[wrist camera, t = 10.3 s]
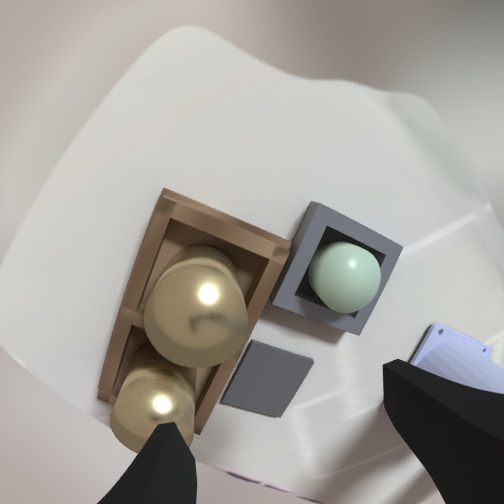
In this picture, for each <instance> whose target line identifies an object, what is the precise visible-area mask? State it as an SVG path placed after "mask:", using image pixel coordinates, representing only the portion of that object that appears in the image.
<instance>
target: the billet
mask: <svg viewBox="0 0 504 504" xmlns="http://www.w3.org/2000/svg"><path fill="white" fill-rule="evenodd" d="M196 376H197V368H190V367H185V366H181V365H178V364H176V363H173V362H171V361H170V360H168V359H166V358H165V357H164V356H162V355H161V354H160V353H159V352H158V351H157V350H156V349H155V348H154V346H153V345H152V343H151V342H150V341H149V342H147V343H145V344H144V345H142V346H141V347H140V348H139V349H138V351H137V352H136V354H135V357H134V359H133V361H132V364H131V366H130V368H129V371H128V373H127V376H126V378H125V380H124V383H123V385H122V388H121V390H120V393H119V395H118V398H117V400H116V403H115V405H114V408H113V410H112V413H111V416H110V425H111V429H112V431H113V433H114V435H115V436H116V438H117V439H118V440H119V441H120V442H121V443H122V444H123V445H125V446H126V447H127V448H129V449H130V450H132V451H134V452H136V453H139V452H140V450H141V449H142V447H143V446H144V444H145V443H146V441H147V440H148V438H149V437H150V435H151V434H152V432H153V431H154V429H155V428H156V426H157V425H158V424H163V423H170V422H175V424H176V425H177V427H178V429H179V431H180V433H181V435H182V437H183V439H184V440H185V442H186V444H187V446H188V447H189V446H190V445H191V443H192V440H193V434H194V411H195V393H196Z"/></svg>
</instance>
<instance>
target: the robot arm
mask: <svg viewBox="0 0 504 504" xmlns="http://www.w3.org/2000/svg"><path fill="white" fill-rule="evenodd" d="M439 330H440V332H439ZM438 332H439V333H438ZM491 353H492V347H490V346H488V345H486V344H484V343H482V342H479V341H477V340H475V339H472V338H470V337H468V336H466V335H463V334H461V333H459V332H457V331H454V330H452V329H450V328H448V327H445V326H443V325H441V324H439V323H434V324H433V325H432V326H431V327H430V329H429V331H428V332H427V334H426V336H425V338H424V340H423V342H422V343H421V345H420V347H419V349H418V350H417V352H416V354H415V355H414V357H413V359H412V361H411V362H410V363H407V362H405V361H402V360H400V359H396V360H394V361H391V362H389V363H386V364H384V365H383V390H384V404H383V407H382V408H383V409H384V411H386V412H387V414H388V416H389V418H390V420H391V422H392V423H393V425H394V427H395V429H396V430H397V431H398V433H399V434H400V435H401V437H402V438H403V439H404V441H405V442H406V443H407V445H408V446H409V447H410V449H411V450H412V451H413V453H414V454H415V455H416V457H417V458H418V459H419V461H420V462H421V463H422V464H423V466H424V467H425V468H426V470H427V471H428V473H429V474H430V476H431V477H432V479H433V481H434V483H435V485H436V486H437V488H438V490H439V492H440V494H441V496H442V497H443V499H444V501H445V503H446V504H504V369H503V368H502V367H500V366H499V365H498V364H496V363H495V362H493V361H492V360H491V359H489V357H490V355H491ZM196 494H197V475H196V464H195V458H194V457H193V455H192V453H191V451H190V450H189V448H188V446H187V444H186V442H185V440H184V439H183V437H182V435H181V433H180V431H179V429H178V427H177V425H176V424H175V422H170V423H163V424H158V425H157V426H156V428H155V429H154V431H153V432H152V434H151V435H150V437H149V438H148V440H147V441H146V443H145V444H144V446H143V447H142V449H141V450H140V452H139V453H138V455H137V456H136V458H135V459H134V460H133V462H132V463H131V465H130V466H129V467H128V469H127V470H126V471H125V473H124V474H123V475H122V476H121V478H120V479H119V480H118V482H117V483H116V484H115V485H114V486H113V487H112V489H111V490H110V491H109V492H108V493H107V494H106V495H105V496H104V497H103V498H102V499H101V500H100V501H99V502H98V503H97V504H196V496H197V495H196Z"/></svg>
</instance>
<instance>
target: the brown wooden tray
mask: <svg viewBox="0 0 504 504" xmlns="http://www.w3.org/2000/svg"><path fill="white" fill-rule="evenodd" d="M200 243H202V244H210V245H213V246H216V247H218V248H220V249H221V250H223V251H224V252H225V253H226V254H227V255H228V256H229V257H230V258H231V260H232V261H233V263H234V265H235V267H236V270H237V274H238V278H239V282H240V286H241V290H242V294H243V298H244V302H245V306H246V310H247V314H248V331H247V335H246V337H245V340H244V342H243V344H242V346H241V347H240V348H239V350H238V351H237V352H236V353H235V354H234V355H233V356H232V357H230V358H229V359H228V360H226V361H224V362H223V363H220V364H218V365H215V366H211V367H206V368H197V376H196V393H195V411H194V433H195V434H198V435H200V433H201V431H202V429H203V427H204V426H205V424H206V422H207V420H208V418H209V416H210V414H211V412H212V410H213V408H214V406H215V404H216V403H217V401H218V399H219V397H220V395H221V393H222V391H223V389H224V387H225V385H226V383H227V381H228V379H229V377H230V375H231V373H232V371H233V369H234V367H235V365H236V363H237V361H238V359H239V357H240V355H241V353H242V351H243V349H244V347H245V345H246V343H247V341H248V339H249V337H250V335H251V333H252V331H253V329H254V327H255V325H256V323H257V321H258V319H259V317H260V315H261V312H262V310H263V308H264V306H265V304H266V302H267V300H268V298H269V296H270V294H271V292H272V290H273V287H274V285H275V283H276V281H277V279H278V277H279V275H280V273H281V271H282V268H283V266H284V264H285V262H286V260H287V258H288V256H289V253H290V250H289V249H290V246H291V244H292V243H291V242H290V241H288V240H285V239H283V238H281V237H279V236H276V235H274V234H272V233H269V232H267V231H265V230H263V229H260V228H258V227H256V226H253V225H251V224H249V223H247V222H244V221H242V220H240V219H237V218H235V217H233V216H230V215H228V214H226V213H223V212H221V211H219V210H216V209H214V208H211V207H209V206H207V205H204V204H202V203H200V202H197V201H195V200H193V199H190V198H188V197H185V196H183V195H181V194H178V193H176V192H173V191H171V190H169V189H166V188H163V190H162V193H161V195H160V198H159V200H158V203H157V205H156V207H155V210H154V213H153V215H152V218H151V220H150V223H149V225H148V228H147V231H146V233H145V236H144V239H143V241H142V244H141V247H140V250H139V252H138V255H137V258H136V261H135V264H134V267H133V269H132V272H131V275H130V278H129V281H128V284H127V287H126V290H125V294H124V297H123V300H122V303H121V306H120V309H119V313H118V316H117V319H116V323H115V326H114V329H113V333H112V336H111V340H110V343H109V347H108V351H107V354H106V358H105V362H104V366H103V370H102V374H101V378H100V382H99V386H98V388H99V392H98V397H97V398H98V399H100V400H103V401H105V402H107V403H110V404H112V405H115V403H116V400H117V398H118V395H119V393H120V390H121V388H122V385H123V383H124V380H125V378H126V376H127V373H128V371H129V368H130V366H131V364H132V361H133V359H134V357H135V354H136V352H137V351H138V349H139V348H140V347H141V346H142V345H144V344H145V343H147V342H149V341H150V340H149V338H148V336H147V333H146V330H145V325H144V311H145V307H146V303H147V301H148V299H149V297H150V295H151V293H152V292H153V290H154V288H155V286H156V284H157V283H158V281H159V279H160V277H161V276H162V274H163V272H164V271H165V269H166V267H167V265H168V264H169V262H170V260H171V259H172V257H173V256H174V255H175V254H176V253H177V252H178V251H179V250H181V249H182V248H184V247H186V246H189V245H192V244H200Z"/></svg>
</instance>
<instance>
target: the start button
mask: <svg viewBox="0 0 504 504" xmlns="http://www.w3.org/2000/svg"><path fill="white" fill-rule="evenodd" d="M308 277H309V282H310V285H311V287H312V289H313V291H314V292H315V293H316V294H317V295H318V296H319V297H320V299H321V300H322V301H323V302H324V303H325V304H326V305H327V306H328V307H329V308H330V309H332V310H334V311H336V312H339V313H352V312H355V311H358V310H360V309H362V308H363V307H365V306H366V305H367V304H368V303H370V301H371V300H372V299H373V298H374V296H375V295H376V293H377V291H378V288H379V285H380V279H381V272H380V267H379V264H378V262H377V260H376V259H375V257H374V256H373V255H372V254H371V253H370V252H368V251H366V250H364V249H362V248H360V247H358V246H356V245H354V244H351V243H349V242H346V241H334V242H330V243H328V244H326V245H324V246H323V247H321V248H320V249H319V250H318V251H317V252H316V253H315V255H314V256H313V258H312V260H311V262H310V266H309V271H308Z"/></svg>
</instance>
